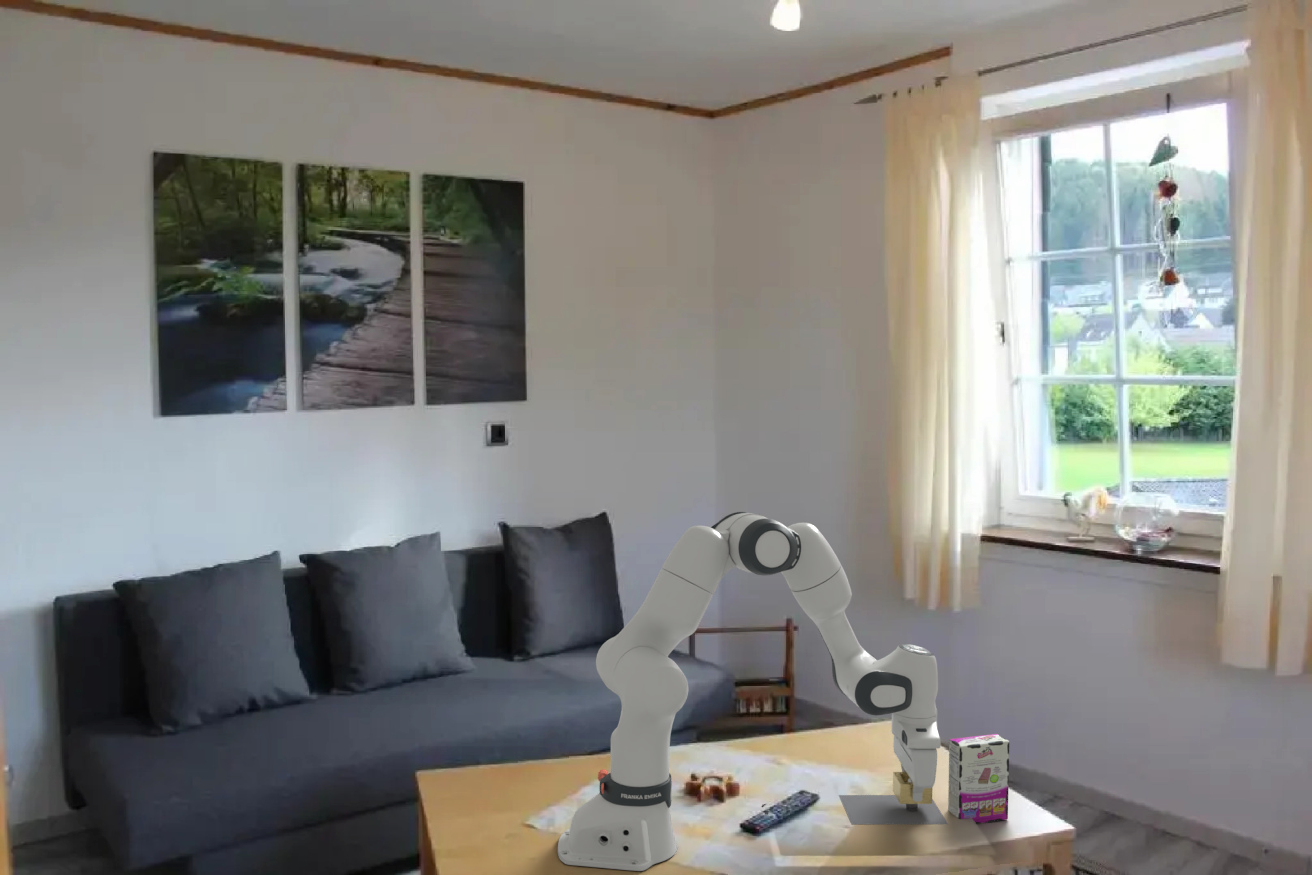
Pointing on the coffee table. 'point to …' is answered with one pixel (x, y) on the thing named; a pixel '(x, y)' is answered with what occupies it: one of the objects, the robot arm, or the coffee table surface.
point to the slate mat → (888, 811)
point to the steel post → (911, 806)
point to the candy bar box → (979, 778)
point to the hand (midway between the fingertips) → (911, 792)
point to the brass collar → (908, 790)
